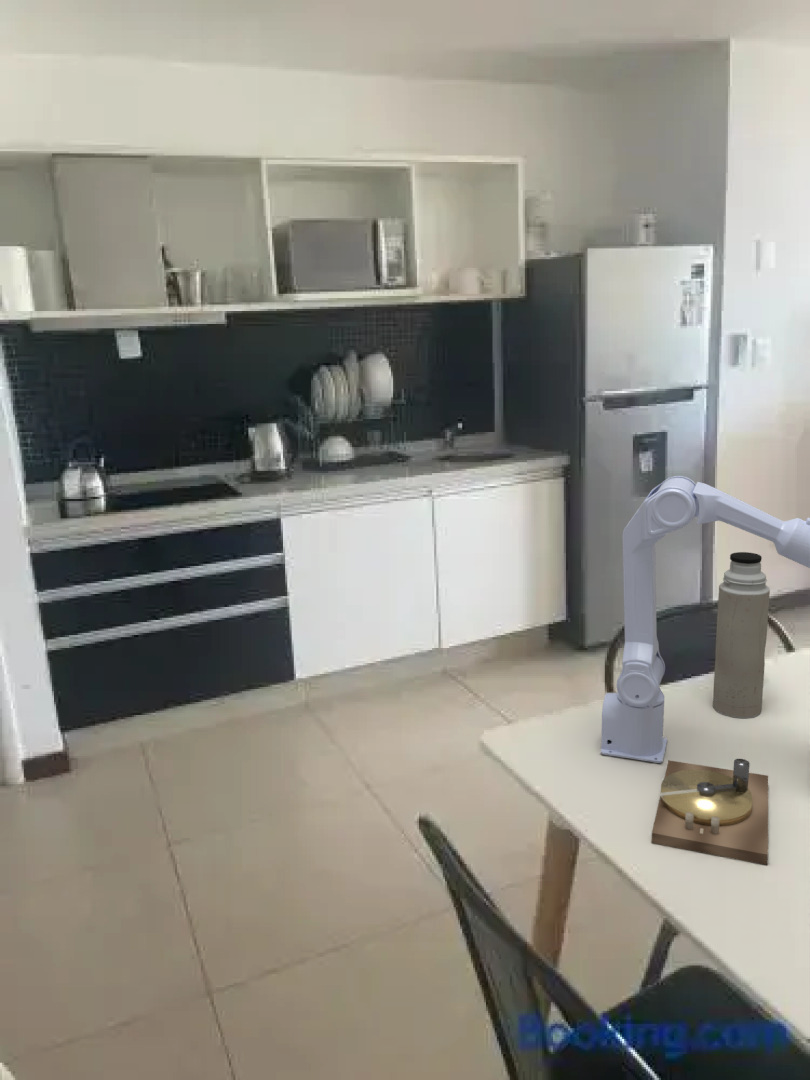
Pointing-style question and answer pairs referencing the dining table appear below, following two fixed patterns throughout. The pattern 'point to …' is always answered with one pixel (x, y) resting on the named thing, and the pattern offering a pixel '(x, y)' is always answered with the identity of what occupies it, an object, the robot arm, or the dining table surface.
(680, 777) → the dial
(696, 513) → the robot arm
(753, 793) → the walnut stand
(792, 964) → the dining table surface
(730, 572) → the thermos bottle
